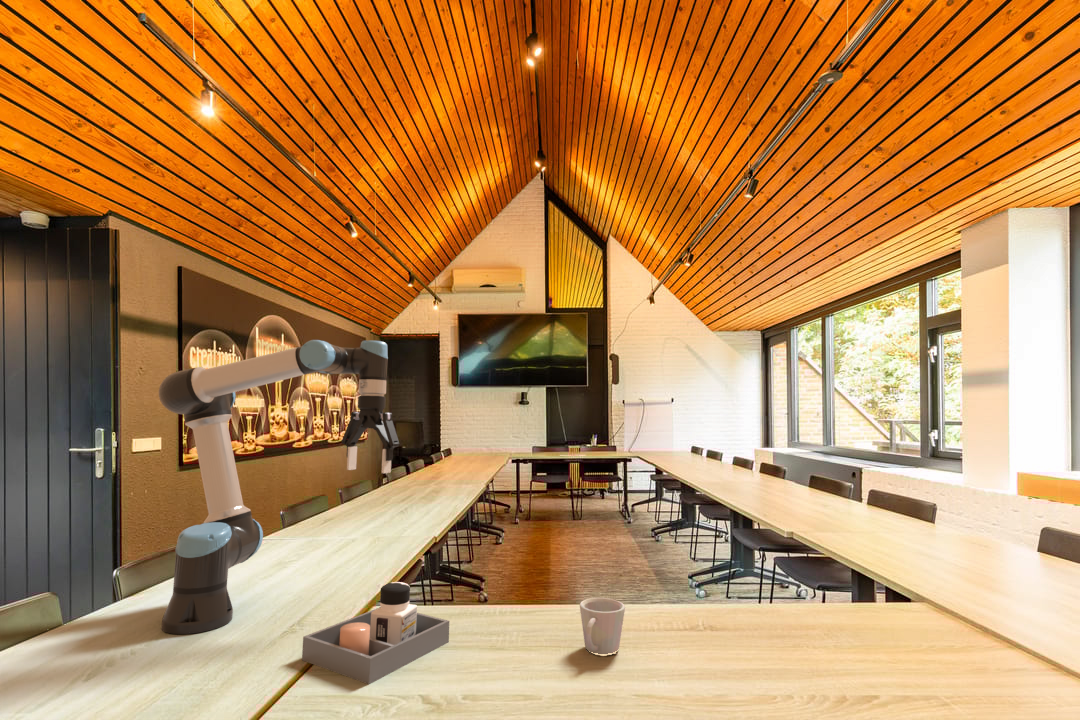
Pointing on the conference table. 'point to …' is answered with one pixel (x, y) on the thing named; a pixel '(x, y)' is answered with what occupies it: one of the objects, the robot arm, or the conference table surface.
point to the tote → (373, 649)
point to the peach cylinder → (355, 637)
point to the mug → (602, 624)
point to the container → (394, 615)
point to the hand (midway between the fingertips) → (368, 471)
